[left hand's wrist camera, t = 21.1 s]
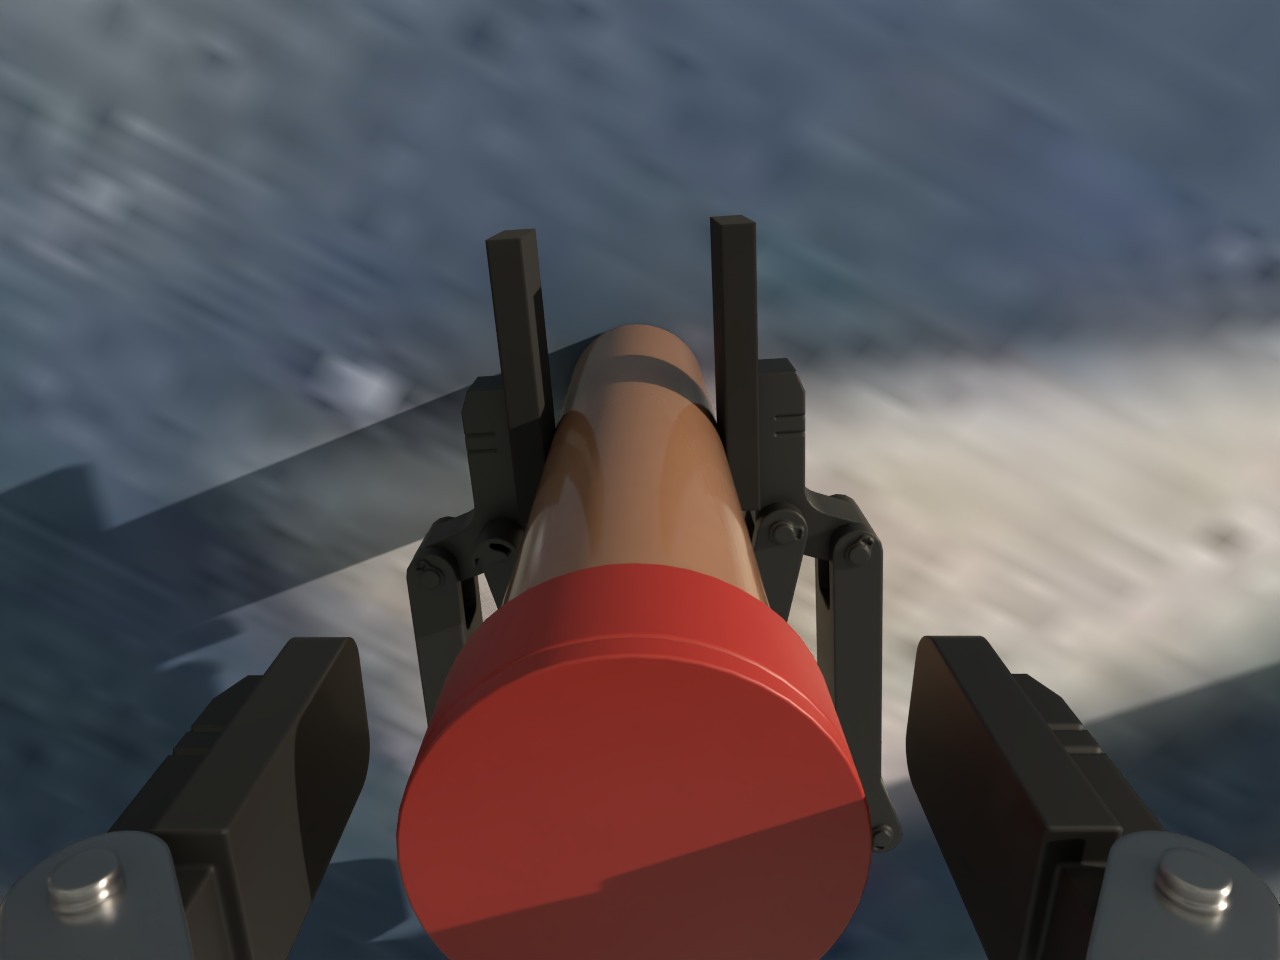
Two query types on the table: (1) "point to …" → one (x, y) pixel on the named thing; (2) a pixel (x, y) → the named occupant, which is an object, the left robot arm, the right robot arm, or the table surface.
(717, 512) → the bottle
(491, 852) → the lid
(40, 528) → the table surface
